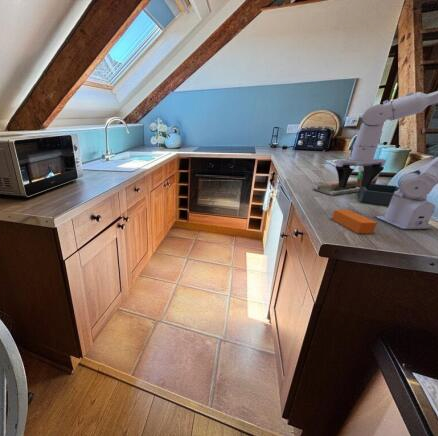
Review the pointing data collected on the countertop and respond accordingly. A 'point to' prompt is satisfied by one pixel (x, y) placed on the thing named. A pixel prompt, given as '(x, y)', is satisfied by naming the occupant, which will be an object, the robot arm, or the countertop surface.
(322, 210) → the countertop surface
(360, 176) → the food container
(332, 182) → the packaged product
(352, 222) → the block
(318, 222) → the countertop surface
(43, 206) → the countertop surface
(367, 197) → the dark grey open box
